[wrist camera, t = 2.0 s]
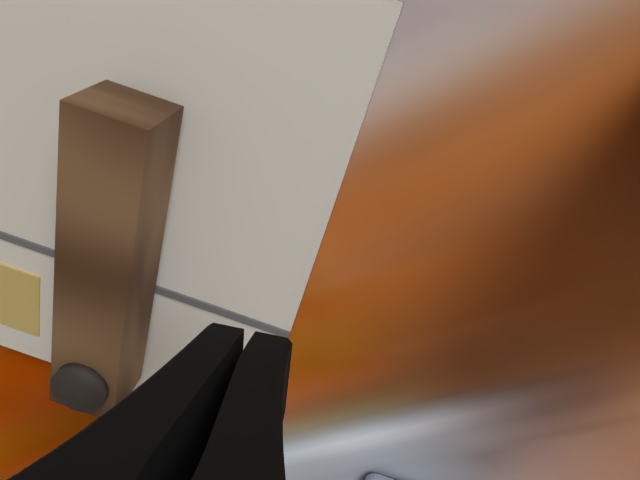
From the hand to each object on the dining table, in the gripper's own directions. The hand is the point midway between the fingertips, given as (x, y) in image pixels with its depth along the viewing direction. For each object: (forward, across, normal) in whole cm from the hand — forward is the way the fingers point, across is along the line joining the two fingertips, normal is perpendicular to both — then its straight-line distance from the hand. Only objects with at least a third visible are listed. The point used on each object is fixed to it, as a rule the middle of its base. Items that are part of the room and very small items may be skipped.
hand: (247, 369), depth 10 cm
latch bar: (+8, +7, +3) cm, 11 cm away
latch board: (+9, +9, +2) cm, 13 cm away
